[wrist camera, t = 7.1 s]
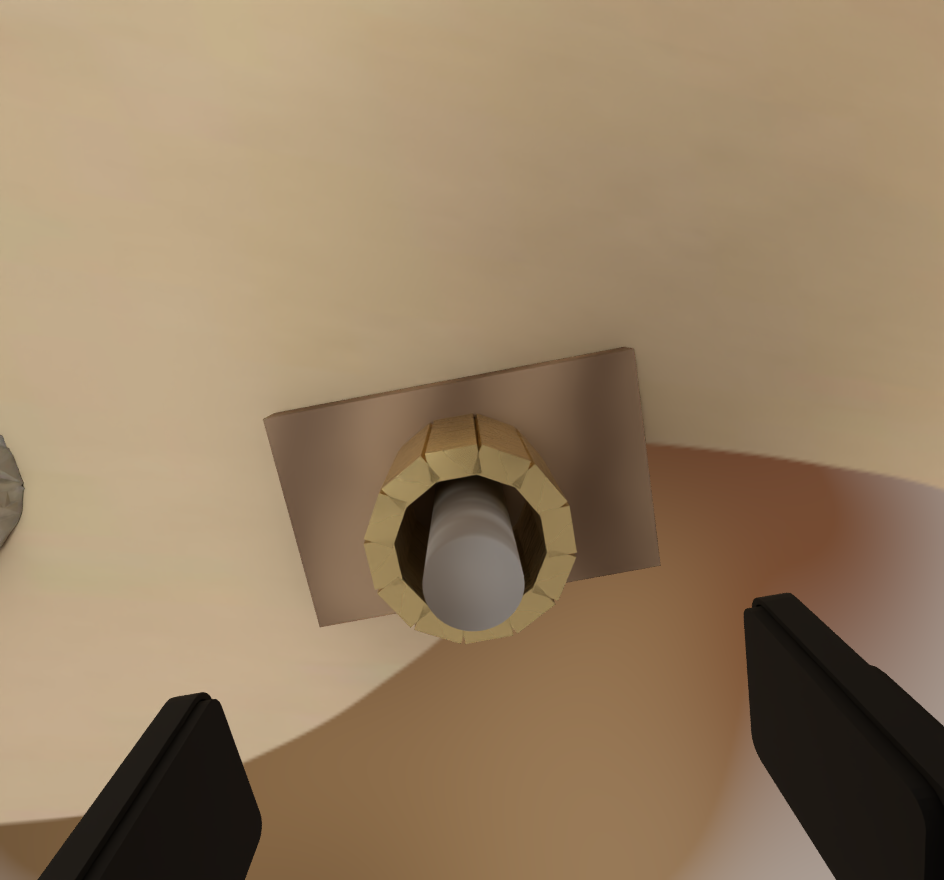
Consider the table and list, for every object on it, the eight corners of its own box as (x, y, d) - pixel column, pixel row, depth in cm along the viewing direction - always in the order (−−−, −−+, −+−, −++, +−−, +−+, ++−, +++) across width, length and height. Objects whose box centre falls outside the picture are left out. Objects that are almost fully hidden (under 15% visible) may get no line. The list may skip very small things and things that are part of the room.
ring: (533, 401, 24) (557, 429, 18) (558, 551, 25) (587, 622, 19) (373, 431, 24) (345, 468, 18) (407, 579, 25) (391, 657, 20)
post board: (623, 347, 25) (729, 366, 15) (649, 552, 27) (756, 684, 17) (274, 413, 25) (157, 473, 15) (327, 610, 27) (253, 773, 18)
